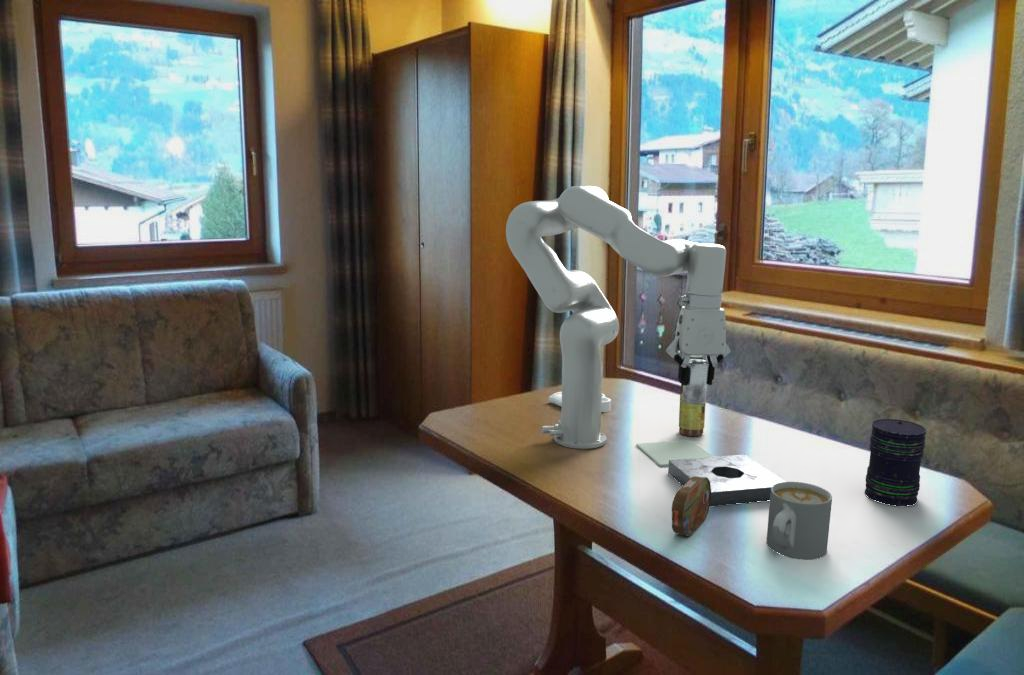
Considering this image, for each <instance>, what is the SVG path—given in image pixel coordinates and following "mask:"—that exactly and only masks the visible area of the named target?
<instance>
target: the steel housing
mask: <svg viewBox="0 0 1024 675" xmlns="http://www.w3.org/2000/svg"><path fill="white" fill-rule="evenodd" d="M667 474H668V475H669V474H670V475H669V476H671V477H672V478H673V479H674V478H675V479H676V480H677V481H676V480H675V479H674V480H675V481H676V482H677V483H679V482H680V483H681V484H682V485H684V484H685V483H686V482H687V481H688V480H689V479H690V478H692V477H694V476H697V477H707V478H708V479H709V481H710V485H711V502H710V506H714V507H720V506H719V505H724V506H727V505H726V504H735V505H737V504H736V503H746V504H750V503H749V502H757V501H767V500H770V494H771V488H772V486H773V485H775V484H777V483H781V482H786V481H785V480H784V479H782V478H781V477H779V476H778V475H776V474H774V473H773V472H772V471H770V470H769V469H767V468H765V467H764V466H763V465H761V464H759V462H756V461H755V460H753V459H752V458H751V457H749V456H747V455H746V454H734V455H722V456H720V455H719V456H713V457H705V458H691V459H678V460H669V466H668V472H667ZM680 483H679V484H680ZM681 484H680V485H681ZM682 485H681V486H682ZM757 503H758V502H757Z"/></svg>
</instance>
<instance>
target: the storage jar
mask: <svg viewBox="0 0 1024 675" xmlns="http://www.w3.org/2000/svg"><path fill="white" fill-rule="evenodd" d="M871 425H872V426H871V432H870V437H869V438H870V439H869V441H870V442H869V451H870V454H869V461H868V466H867V470H866V474H865V489H864V495H865V494H866V495H867V496H868V497H869V498H871V499H873V500H876V501H879V502H882V503H885V504H890V505H896V506H907V505H913V504H915V503H916V502H917V503H918V495H919V491H920V487H921V485H920V482H921V475H920V470H921V464H922V463H921V462H922V459H923V457H924V449H925V447H926V443H925V442H926V441H925V440H926V435H927V434H926V433H927V428H926V427H924V426H923V425H921V424H918V423H915V422H912V421H907V420H901V419H892V418H880V419H876V420H873V422H872V423H871ZM866 495H865V496H866ZM867 496H866V497H867ZM868 497H867V498H868ZM869 498H868V499H869ZM871 499H870V500H871ZM873 500H872V501H873ZM917 503H916V504H917ZM916 504H915V505H916ZM896 506H895V507H896ZM913 506H914V505H913Z"/></svg>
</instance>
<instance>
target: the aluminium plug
mask: <svg viewBox="0 0 1024 675" xmlns="http://www.w3.org/2000/svg"><path fill="white" fill-rule="evenodd" d="M687 367H688V368H689V378H688V385H685V386H684V385H683V396H682V401H683V402H685V403H688V404H693V405H702V404H705V401H706V400H707V399H706V398H707V388H708V384H707V381H708V371H709V362H708V361H707V359H705V360H704V359H703V360H701V359H689V362H688V365H687ZM706 402H707V401H706Z"/></svg>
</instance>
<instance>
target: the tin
mask: <svg viewBox="0 0 1024 675" xmlns="http://www.w3.org/2000/svg"><path fill="white" fill-rule="evenodd" d="M710 502H711V485H710V481H709V479H708V478H707V477H697V476H694V477H692V478H690V479H689V480H688V481H687V482H686V483H685V484H684V485H683V486H682V485H681V486H680V488H679V489H678V490H677V491H676V493H675V495H674V497H673V500H672V505H671V529H672V531H673V532H674V533H675V534H677V535H682V536H686V537H691V536H693V535H694V533H695V532H696V531H697V530H698V529H699V527H700V526H701V525H702V524H703V523H704V522H705V521H706V519H707V517H708V514H709V512H710V508H711V507H710Z"/></svg>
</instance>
